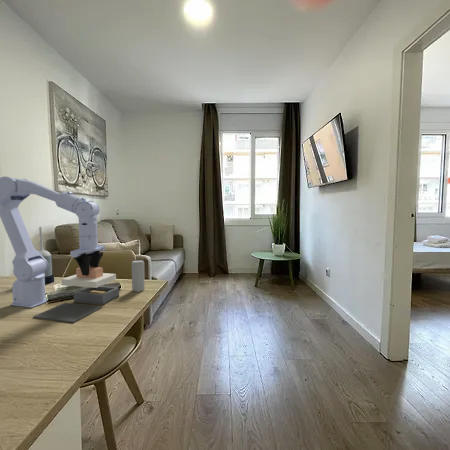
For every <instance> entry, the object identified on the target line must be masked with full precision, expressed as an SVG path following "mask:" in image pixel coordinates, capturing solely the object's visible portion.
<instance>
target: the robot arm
mask: <svg viewBox="0 0 450 450" xmlns="http://www.w3.org/2000/svg"><path fill="white" fill-rule="evenodd" d="M30 195H37V196H38V197H42V198H45V199H47V200H50V201H53V202H55V204H56V206H57V208H60V209H63V210H65V211H67V212H71V213H72V214H75V215H76V217H77V218H78V235H79V236H78V238H79V243H78V244H79V248H77V249H74V250H70V252H69V253H70V258H73V259H74V260H75V261H76V263H77V264H78V268H80V269H81V272H82V275H85V276H88V275H89V265H90V267H99V264H100V261H101V259H102V257H103V256H104V252H102V251H106V246H105V244H98V243H99V241H98V215H99V213H100V207H99V205H98V204H97V203H96V202H95V201H93V200H88V201H87V200H86V198H85V197H80V196H77V195H74V192H72V191H62V192H58V191H55V190H53V189H51V188H49V187H47V186H45V185H43V184H40V183H38V182H35V181H32V180H28V179H25V178H17V177H16V178H15V177H10V176H1V177H0V220H1V222H2V224H3V227H4V230H5V232H6V234H7V237H8V238H9V241H10V243H11V246H12V248H13V251H14V254H15V256H14V258H13V260H12V262H11V263H12V265H13V275H14V277H15V278H16V279H15V281H14V282H13V283H12V292H11V293H12V303H10V306H13V307H22V308H23V307H24V308H35V307H37V306H40V305H42V304H45V303H47V301H46V298H47V297H46V285H45V272H46V271H47V270H48V262H47V260H46V259H44V258H43V256H42V254H41V253H40V252H39V250H37V249H35V246H34V244H33V241H32V239H31V237H30V234H29V233H28V230H27V227H26V225H25V222H24V220H23V218H22V215H21V213H20V210H19V206H20V204H21V203H22V202H23V201H25V200H26V199H27V198H28V197H30Z"/></svg>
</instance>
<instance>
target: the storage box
mask: <svg viewBox="0 0 450 450" xmlns="http://www.w3.org/2000/svg"><path fill="white" fill-rule="evenodd" d="M119 297H120V287H118V286H117V287H116V286H105V285H102V286H99V287H97V288H92V287H83V288H82V289H78V290H76V291H74V292H73V302H74V303H78V304H79V303H80V304H81V303H82V304H87V305H90V304H91V305H97V306H103V305H105V304H108V303H109V302H111V301H113V300H115V299H118V298H119Z"/></svg>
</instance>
